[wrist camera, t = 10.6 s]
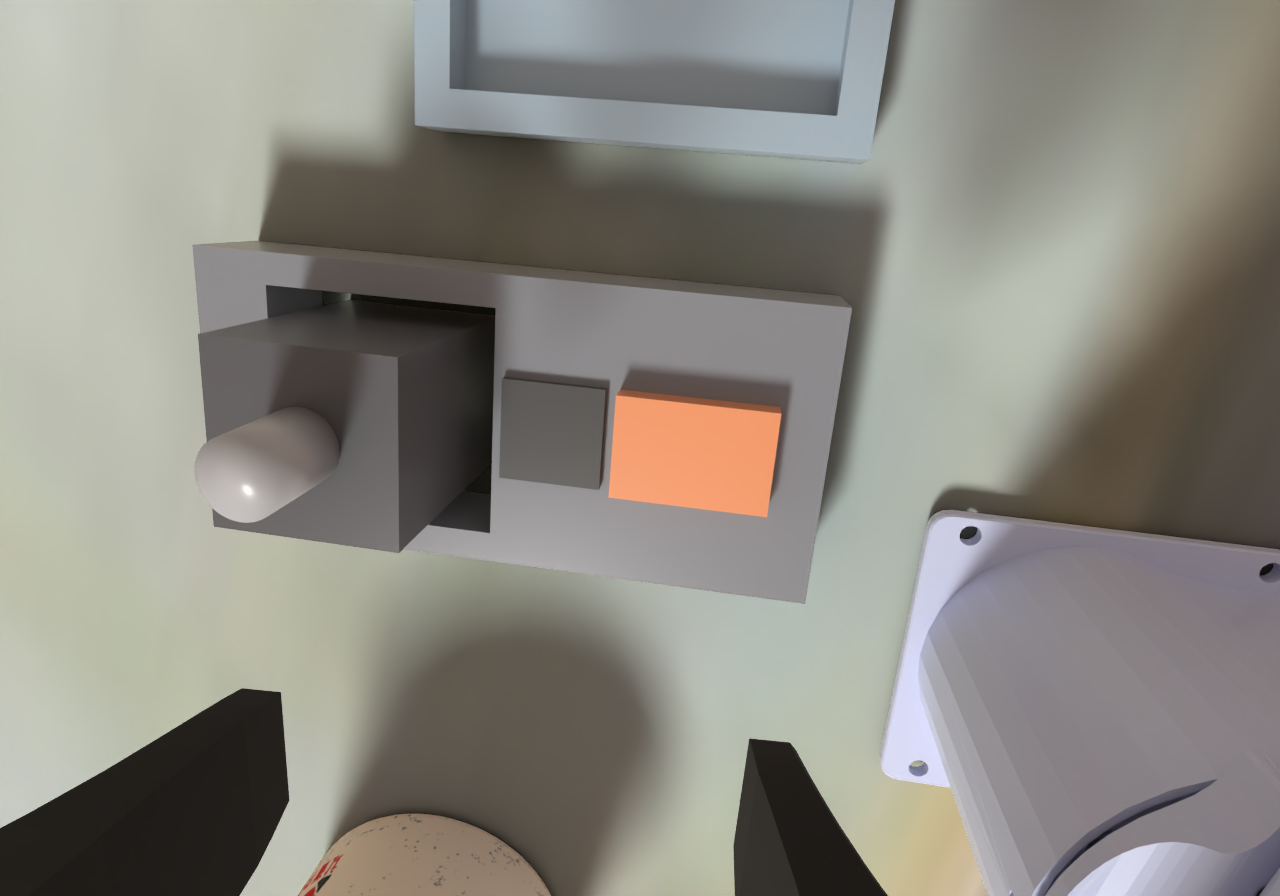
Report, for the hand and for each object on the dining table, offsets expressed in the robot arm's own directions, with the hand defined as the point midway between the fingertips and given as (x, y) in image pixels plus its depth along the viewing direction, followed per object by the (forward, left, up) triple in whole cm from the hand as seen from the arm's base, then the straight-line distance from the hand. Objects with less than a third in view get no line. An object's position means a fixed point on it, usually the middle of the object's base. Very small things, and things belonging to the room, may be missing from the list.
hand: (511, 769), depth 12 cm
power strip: (+3, -3, -10) cm, 11 cm away
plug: (+6, -3, -10) cm, 12 cm away
